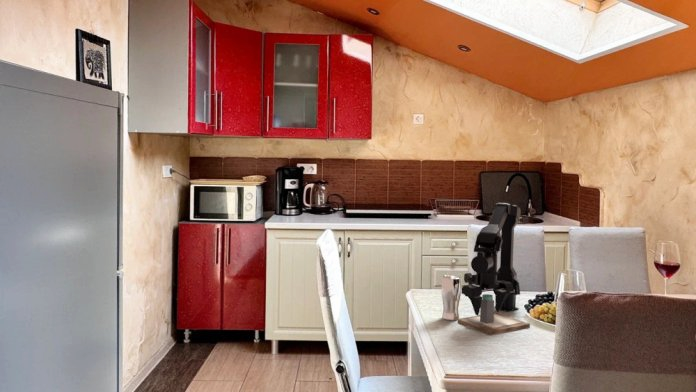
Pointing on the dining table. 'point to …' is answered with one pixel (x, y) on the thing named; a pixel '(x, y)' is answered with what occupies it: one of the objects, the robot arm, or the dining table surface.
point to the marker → (487, 309)
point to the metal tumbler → (451, 296)
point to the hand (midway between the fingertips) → (487, 313)
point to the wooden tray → (494, 324)
